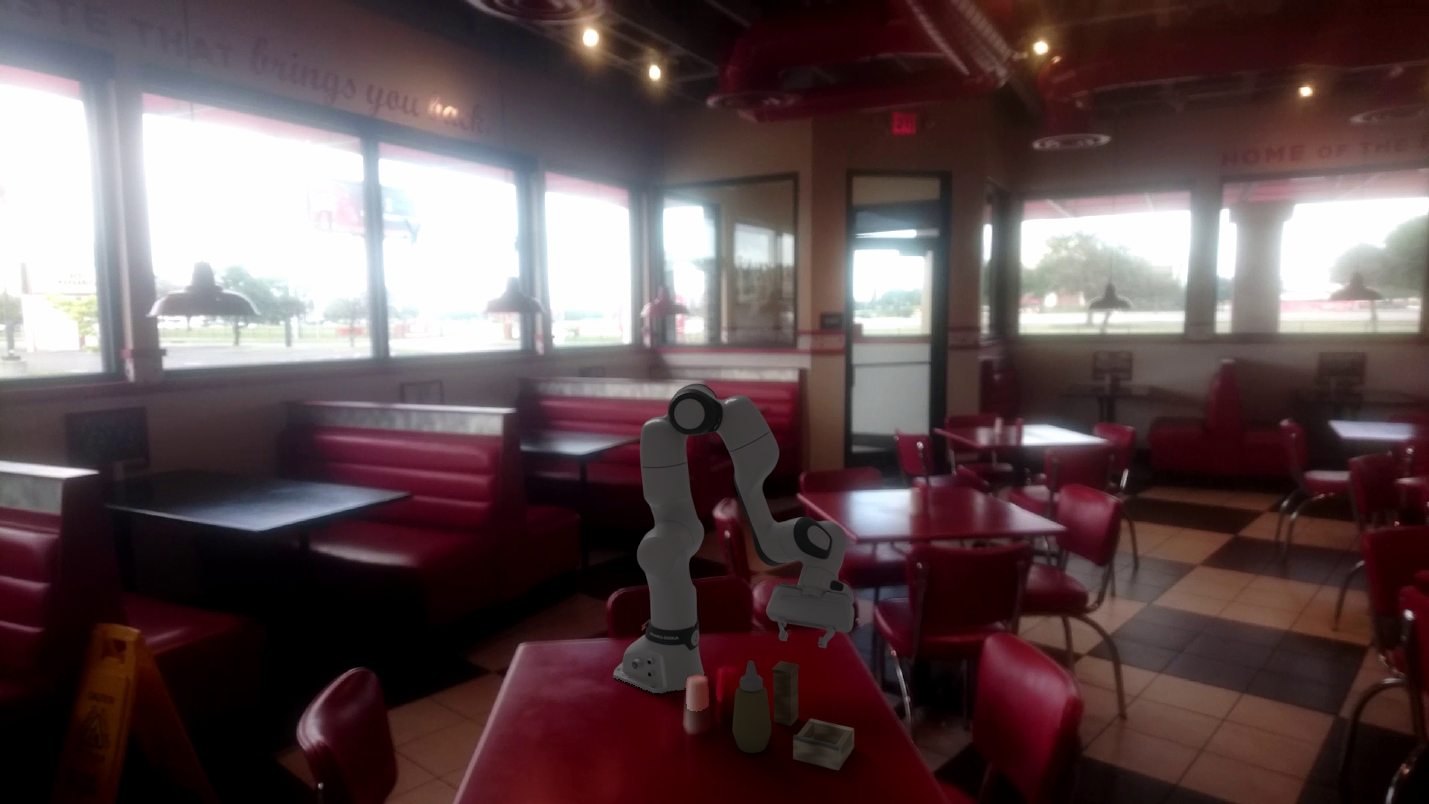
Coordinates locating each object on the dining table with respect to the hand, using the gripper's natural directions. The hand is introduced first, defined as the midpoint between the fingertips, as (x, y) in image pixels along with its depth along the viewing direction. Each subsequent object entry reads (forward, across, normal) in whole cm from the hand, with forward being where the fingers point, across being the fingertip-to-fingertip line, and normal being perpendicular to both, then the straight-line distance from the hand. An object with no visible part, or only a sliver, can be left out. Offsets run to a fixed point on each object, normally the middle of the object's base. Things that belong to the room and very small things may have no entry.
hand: (801, 643), depth 183 cm
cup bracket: (+23, +12, -3) cm, 26 cm away
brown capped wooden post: (+16, 0, +3) cm, 17 cm away
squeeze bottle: (+26, -2, -6) cm, 26 cm away
